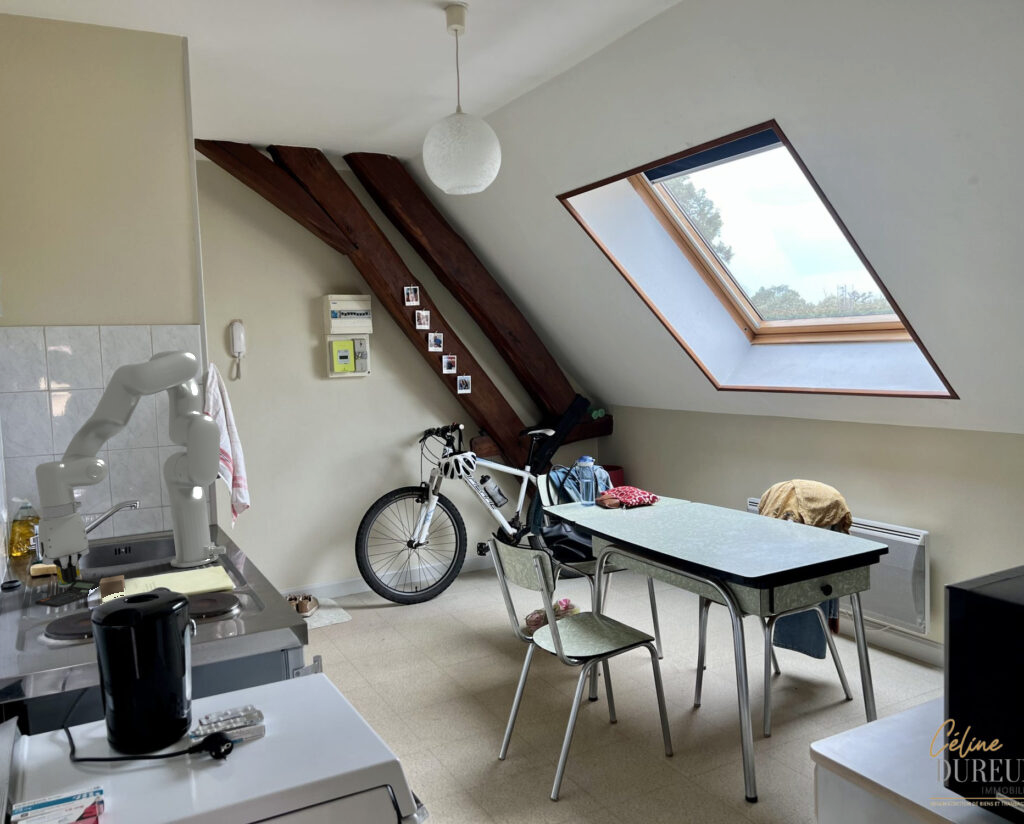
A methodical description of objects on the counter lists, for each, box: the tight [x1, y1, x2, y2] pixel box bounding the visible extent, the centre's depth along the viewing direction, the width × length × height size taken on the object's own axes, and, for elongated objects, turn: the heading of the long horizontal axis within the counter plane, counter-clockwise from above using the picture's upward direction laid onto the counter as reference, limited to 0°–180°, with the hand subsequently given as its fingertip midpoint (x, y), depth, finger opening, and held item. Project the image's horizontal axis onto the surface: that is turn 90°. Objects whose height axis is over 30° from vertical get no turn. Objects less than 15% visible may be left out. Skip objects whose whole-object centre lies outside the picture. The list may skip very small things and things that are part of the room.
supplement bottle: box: [55, 556, 82, 589], centre depth 211 cm, size 5×5×10 cm
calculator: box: [34, 579, 100, 608], centre depth 199 cm, size 9×12×3 cm
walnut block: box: [99, 574, 126, 599], centre depth 196 cm, size 5×5×5 cm
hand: (70, 581), depth 200 cm, fingers closed
